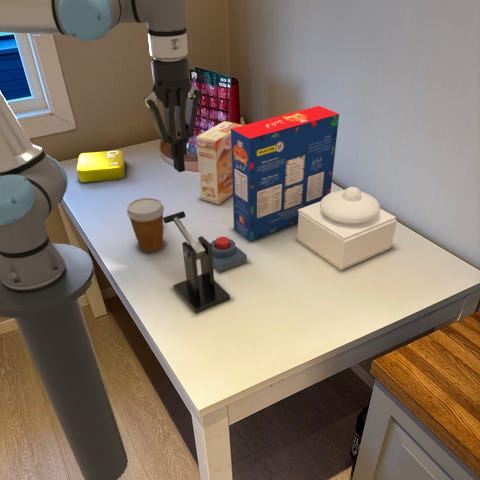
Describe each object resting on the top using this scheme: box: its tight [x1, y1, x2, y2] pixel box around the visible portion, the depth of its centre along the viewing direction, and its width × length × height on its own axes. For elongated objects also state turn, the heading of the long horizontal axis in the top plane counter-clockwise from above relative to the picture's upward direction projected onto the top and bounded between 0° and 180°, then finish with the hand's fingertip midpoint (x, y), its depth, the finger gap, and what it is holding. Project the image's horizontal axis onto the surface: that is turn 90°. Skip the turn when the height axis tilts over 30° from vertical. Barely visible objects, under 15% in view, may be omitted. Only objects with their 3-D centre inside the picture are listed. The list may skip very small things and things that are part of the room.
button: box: [214, 236, 230, 250], centre depth 122 cm, size 4×4×2 cm
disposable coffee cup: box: [126, 197, 165, 253], centre depth 126 cm, size 10×10×12 cm
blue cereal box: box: [231, 105, 340, 243], centre depth 130 cm, size 28×8×28 cm, turn 124°
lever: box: [163, 210, 205, 261], centre depth 108 cm, size 13×5×2 cm, turn 32°
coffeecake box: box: [195, 120, 244, 205], centre depth 147 cm, size 15×7×20 cm, turn 148°
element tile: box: [76, 149, 126, 183], centre depth 165 cm, size 15×15×5 cm
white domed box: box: [296, 186, 398, 271], centre depth 124 cm, size 18×18×16 cm
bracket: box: [173, 235, 231, 314], centre depth 109 cm, size 11×9×14 cm
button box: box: [209, 238, 248, 273], centre depth 124 cm, size 10×8×4 cm
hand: (179, 169), depth 113 cm, fingers closed
